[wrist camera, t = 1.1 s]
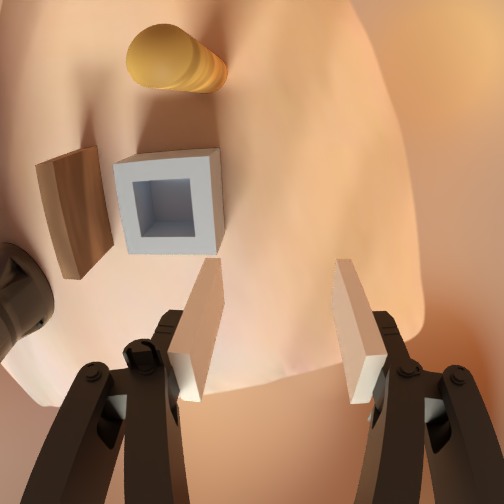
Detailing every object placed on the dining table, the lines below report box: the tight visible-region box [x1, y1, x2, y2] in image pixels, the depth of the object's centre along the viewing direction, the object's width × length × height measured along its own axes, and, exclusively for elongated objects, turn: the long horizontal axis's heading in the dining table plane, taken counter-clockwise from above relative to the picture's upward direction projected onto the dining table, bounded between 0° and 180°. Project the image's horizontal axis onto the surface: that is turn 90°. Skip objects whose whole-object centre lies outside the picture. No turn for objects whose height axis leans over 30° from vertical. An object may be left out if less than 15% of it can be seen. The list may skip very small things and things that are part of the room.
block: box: [113, 148, 225, 255], centre depth 29 cm, size 9×9×5 cm
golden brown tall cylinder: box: [126, 24, 227, 93], centre depth 20 cm, size 4×4×13 cm
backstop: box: [35, 146, 114, 280], centre depth 29 cm, size 2×12×8 cm, turn 2°
